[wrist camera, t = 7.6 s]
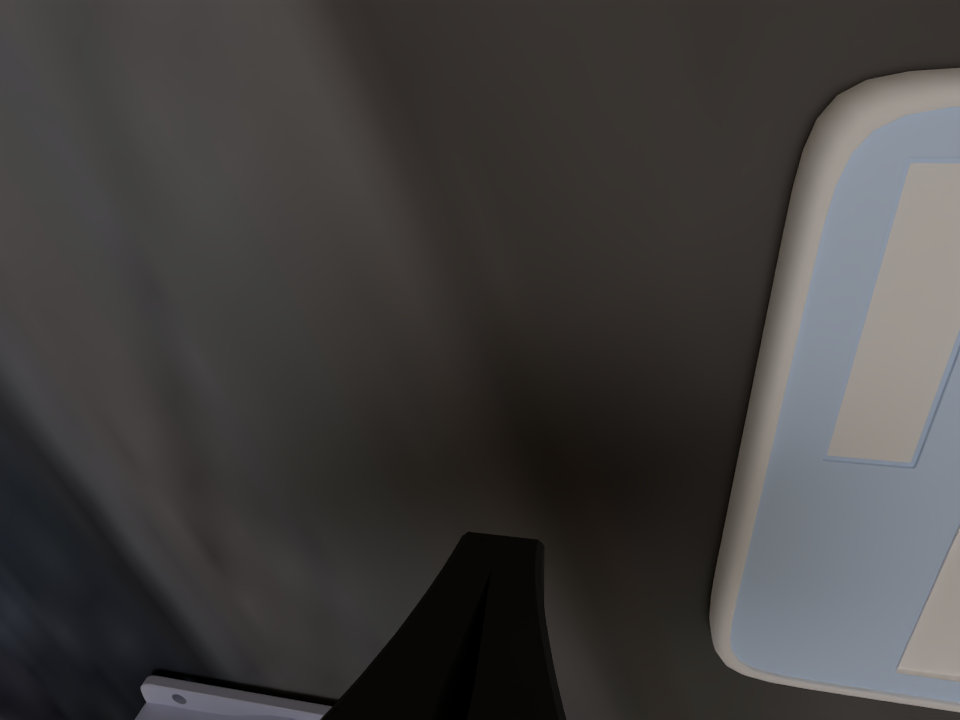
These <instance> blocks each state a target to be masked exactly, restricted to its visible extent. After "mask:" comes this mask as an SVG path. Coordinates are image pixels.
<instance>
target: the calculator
mask: <svg viewBox="0 0 960 720" xmlns="http://www.w3.org/2000/svg"><path fill="white" fill-rule="evenodd" d="M709 621H710V629H711V635H712V642H713V645H714V648H715V651H716V652H717V653H718V655H719V656H720V658H721V659H722V661H723V662H724V663H725V664H726V666H728V667H730V668H732V669H733V670H735V671H737V672H739V673H741V674H743V675H746V676H749V677H753V678H757V679H760V680H764V681H768V682H772V683H778V684H783V685H789V686H794V687H799V688H805V689H811V690H818V691H824V692H831V693H837V694H844V695H850V696H856V697H863V698H870V699H876V700H883V701H889V702H896V703H902V704H909V705H915V706H922V707H929V708H935V709H942V710H948V711H955V712H960V68H950V69H935V70H920V71H908V72H903V73H898V74H893V75H888V76H883V77H878V78H873V79H868V80H865V81H863V82H861V83H859V84H858V85H856V86H854V87H852V88H850V89H848V90H846V91H844V92H842V93H840V94H838V95H837V96H836V97H835V98H834V99H833V101H832V102H831V103H830V104H829V105H828V106H827V108H826V109H825V110H824V111H823V112H822V113H821V115H820V116H819V117H818V118H817V120H816V122H815V124H814V126H813V129H812V131H811V133H810V135H809V137H808V140H807V142H806V144H805V146H804V149H803V151H802V155H801V159H800V162H799V166H798V170H797V173H796V177H795V181H794V184H793V188H792V192H791V197H790V202H789V207H788V211H787V216H786V221H785V226H784V231H783V235H782V240H781V245H780V250H779V255H778V260H777V265H776V270H775V275H774V280H773V285H772V290H771V295H770V300H769V305H768V310H767V315H766V320H765V325H764V330H763V335H762V340H761V345H760V350H759V355H758V360H757V365H756V370H755V375H754V380H753V385H752V390H751V395H750V400H749V405H748V410H747V415H746V420H745V425H744V430H743V435H742V440H741V445H740V450H739V455H738V460H737V465H736V470H735V475H734V480H733V485H732V490H731V495H730V500H729V505H728V510H727V515H726V520H725V525H724V530H723V535H722V540H721V545H720V550H719V555H718V560H717V565H716V570H715V575H714V580H713V586H712V592H711V602H710V613H709Z"/></svg>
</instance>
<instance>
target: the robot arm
mask: <svg viewBox="0 0 960 720" xmlns="http://www.w3.org/2000/svg"><path fill="white" fill-rule="evenodd" d="M141 692H142V694H143V696H144V698H145V700H146V704H145V705H144V706H143V708H142V709H141V711H140V712H139V714H138V715H137V717H136V718H135V720H566V717H565V713H564V709H563V705H562V701H561V696H560V692H559V688H558V684H557V679H556V674H555V670H554V665H553V660H552V654H551V648H550V643H549V637H548V631H547V625H546V618H545V610H544V545H543V544H542V543H541V542H540V541H539V540H536V539H527V538H518V537H509V536H500V535H491V534H482V533H473V532H467V533H466V534H465V535H463V536H462V537H461V539H460V541H459V542H458V544H457V546H456V548H455V549H454V551H453V553H452V554H451V556H450V557H449V559H448V561H447V562H446V564H445V565H444V567H443V568H442V570H441V571H440V573H439V574H438V576H437V577H436V579H435V580H434V582H433V583H432V585H431V586H430V588H429V589H428V590H427V592H426V593H425V595H424V596H423V598H422V599H421V600H420V602H419V603H418V604H417V606H416V607H415V608H414V610H413V611H412V612H411V614H410V615H409V616H408V618H407V619H406V620H405V622H404V623H403V624H402V626H401V627H400V628H399V630H398V631H397V632H396V634H395V635H394V636H393V637H392V639H391V640H390V641H389V642H388V643H387V645H386V646H385V647H384V648H383V649H382V651H381V652H380V653H379V654H378V655H377V657H376V658H375V659H374V660H373V661H372V663H371V664H370V665H369V666H368V667H367V669H366V670H365V671H364V672H363V673H362V675H361V676H360V677H359V678H358V679H357V680H356V681H355V682H354V684H353V685H352V686H351V687H350V688H349V689H348V690H347V691H346V693H345V694H344V695H343V696H342V697H341V698H340V699H339V700H338V701H337V702H336V703H335V704H334V705H333V706H327V705H322V704H316V703H310V702H305V701H299V700H293V699H288V698H282V697H276V696H270V695H265V694H259V693H253V692H248V691H242V690H236V689H230V688H225V687H219V686H213V685H208V684H202V683H196V682H190V681H185V680H179V679H173V678H168V677H162V676H155V675H152V676H149V677H147V678H146V680H145V681H144V683H143V684H142V686H141Z"/></svg>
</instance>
